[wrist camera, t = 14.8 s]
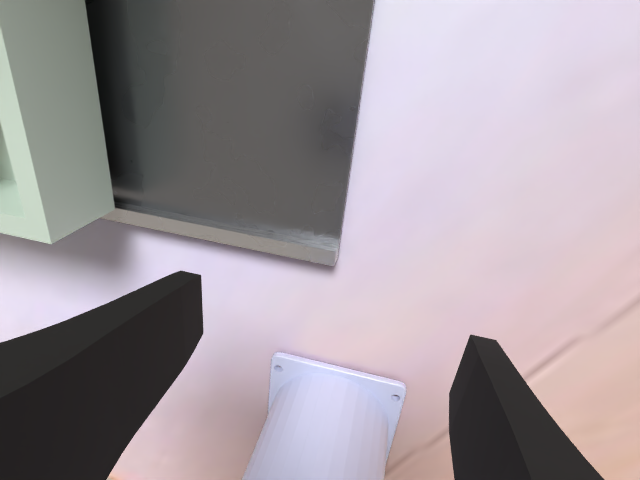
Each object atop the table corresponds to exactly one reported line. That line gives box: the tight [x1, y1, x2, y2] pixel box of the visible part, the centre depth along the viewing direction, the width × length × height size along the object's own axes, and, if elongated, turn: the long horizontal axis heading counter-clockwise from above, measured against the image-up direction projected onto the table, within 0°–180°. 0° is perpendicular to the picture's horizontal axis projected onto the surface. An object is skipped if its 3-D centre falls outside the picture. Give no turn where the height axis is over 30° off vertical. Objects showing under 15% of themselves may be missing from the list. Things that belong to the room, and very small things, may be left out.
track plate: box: [85, 0, 375, 266], centre depth 18 cm, size 16×28×1 cm, turn 83°
